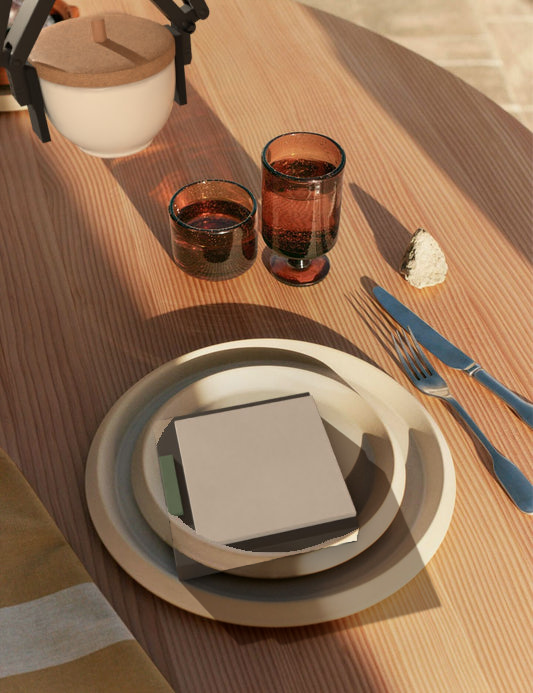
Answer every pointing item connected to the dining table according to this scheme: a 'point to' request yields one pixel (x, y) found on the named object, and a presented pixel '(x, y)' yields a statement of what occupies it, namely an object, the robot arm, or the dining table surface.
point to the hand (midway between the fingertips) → (112, 117)
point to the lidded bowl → (106, 81)
